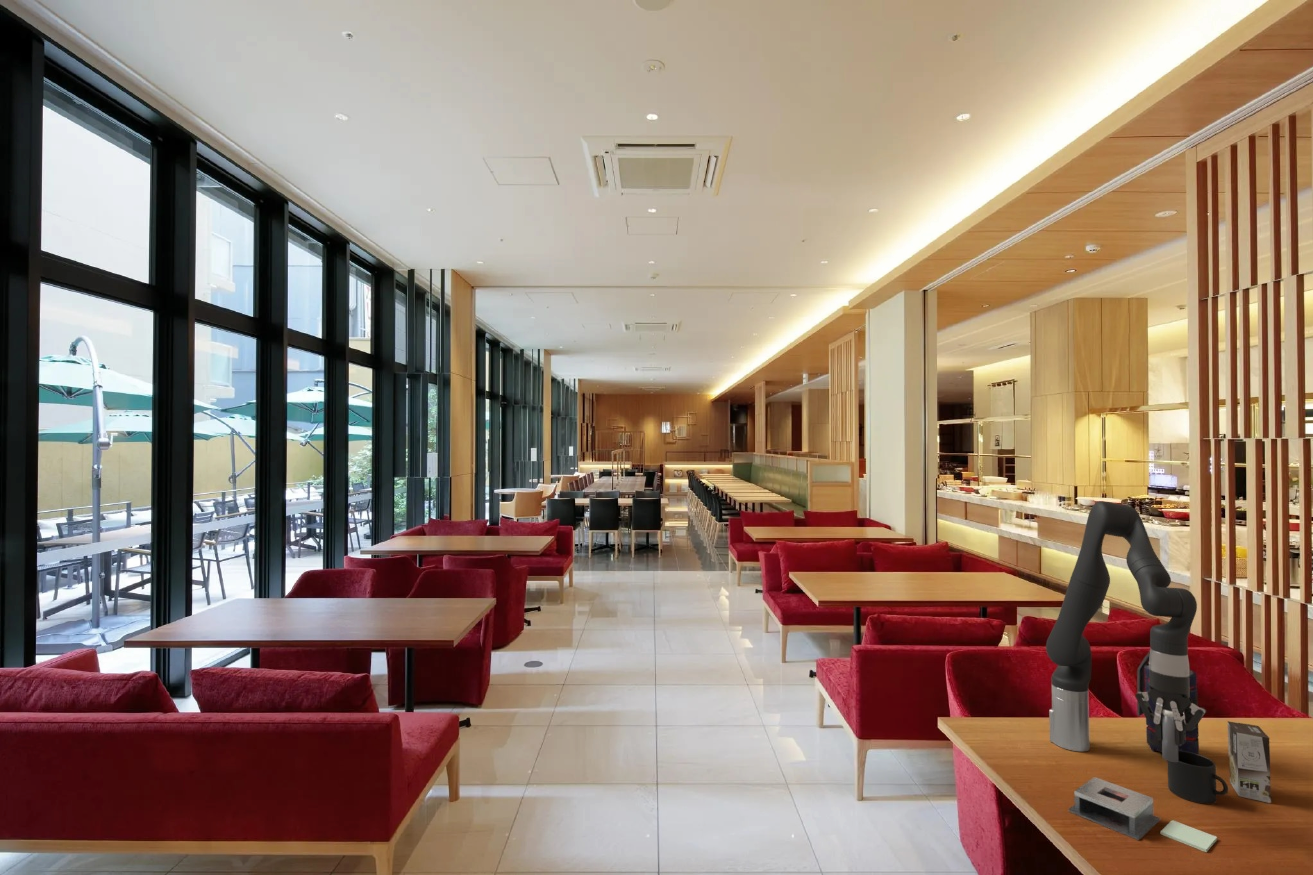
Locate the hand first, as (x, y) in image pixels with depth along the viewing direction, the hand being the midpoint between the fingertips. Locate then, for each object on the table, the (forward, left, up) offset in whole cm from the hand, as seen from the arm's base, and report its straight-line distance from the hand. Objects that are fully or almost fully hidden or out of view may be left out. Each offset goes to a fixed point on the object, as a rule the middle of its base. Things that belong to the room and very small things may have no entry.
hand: (1169, 741), depth 150 cm
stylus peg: (0, 0, -4) cm, 4 cm away
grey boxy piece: (-8, -13, -17) cm, 23 cm away
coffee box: (+8, +29, -17) cm, 35 cm away
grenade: (-12, +41, -17) cm, 46 cm away
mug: (+1, +15, -17) cm, 23 cm away
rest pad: (+5, -9, -17) cm, 20 cm away
